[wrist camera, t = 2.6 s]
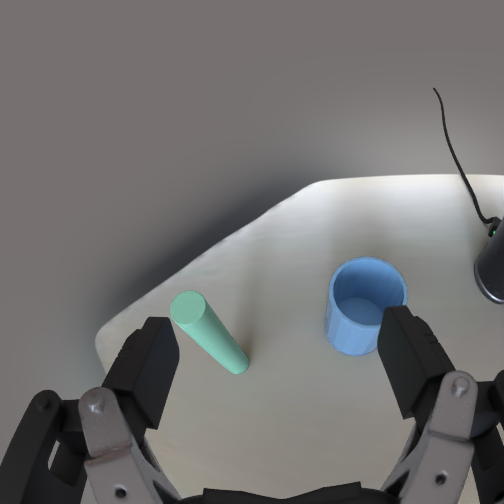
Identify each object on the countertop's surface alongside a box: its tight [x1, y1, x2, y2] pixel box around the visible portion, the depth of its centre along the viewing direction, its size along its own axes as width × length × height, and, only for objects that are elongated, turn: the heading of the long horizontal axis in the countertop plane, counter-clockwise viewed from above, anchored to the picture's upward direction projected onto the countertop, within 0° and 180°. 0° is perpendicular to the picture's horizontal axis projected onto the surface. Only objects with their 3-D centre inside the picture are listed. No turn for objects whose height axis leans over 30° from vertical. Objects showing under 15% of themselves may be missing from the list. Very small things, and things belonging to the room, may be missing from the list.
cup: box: [325, 257, 408, 356], centre depth 28 cm, size 8×8×9 cm
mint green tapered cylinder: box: [170, 291, 249, 374], centre depth 25 cm, size 3×3×16 cm
